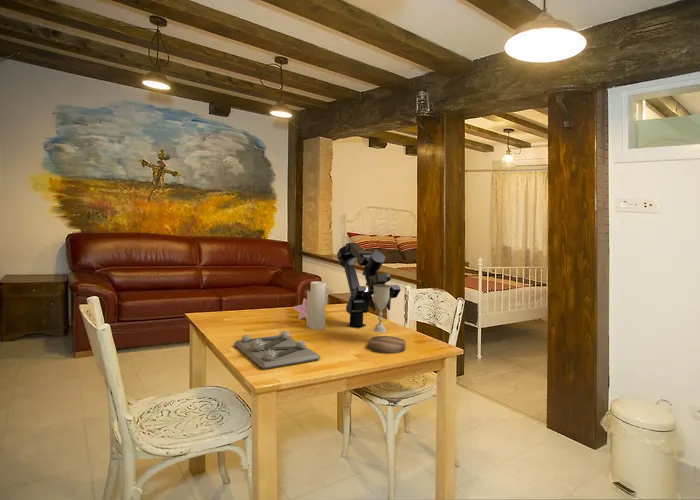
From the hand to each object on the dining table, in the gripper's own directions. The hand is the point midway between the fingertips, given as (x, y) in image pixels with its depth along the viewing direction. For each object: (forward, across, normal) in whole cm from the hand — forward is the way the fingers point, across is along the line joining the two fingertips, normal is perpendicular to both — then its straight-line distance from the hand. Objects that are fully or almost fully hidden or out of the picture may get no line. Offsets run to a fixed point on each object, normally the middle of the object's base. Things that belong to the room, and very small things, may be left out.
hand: (382, 310), depth 171 cm
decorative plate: (+11, -41, +9) cm, 44 cm away
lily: (-22, -19, +42) cm, 51 cm away
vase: (-12, -18, +31) cm, 38 cm away
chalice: (+5, 0, +7) cm, 9 cm away
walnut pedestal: (+13, 0, +5) cm, 14 cm away
